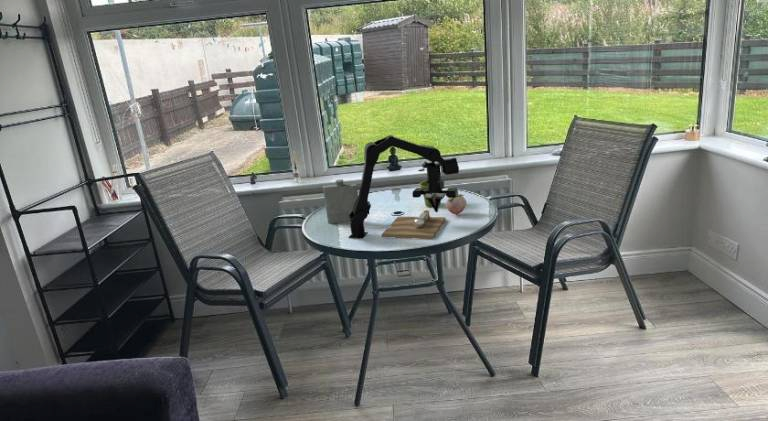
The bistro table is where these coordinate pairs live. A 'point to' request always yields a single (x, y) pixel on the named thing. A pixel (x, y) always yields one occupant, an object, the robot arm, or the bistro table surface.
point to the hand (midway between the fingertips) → (436, 211)
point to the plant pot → (427, 203)
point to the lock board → (414, 228)
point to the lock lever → (422, 219)
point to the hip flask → (339, 201)
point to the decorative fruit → (456, 204)
